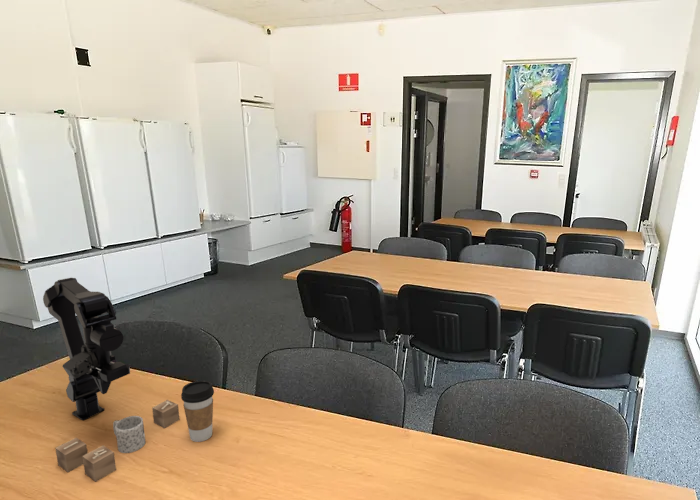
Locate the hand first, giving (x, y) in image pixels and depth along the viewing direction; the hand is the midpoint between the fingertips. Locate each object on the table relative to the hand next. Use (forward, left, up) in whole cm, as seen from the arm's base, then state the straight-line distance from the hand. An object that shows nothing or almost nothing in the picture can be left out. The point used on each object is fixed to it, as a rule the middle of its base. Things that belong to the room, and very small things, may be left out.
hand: (104, 393), depth 123 cm
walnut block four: (+14, -10, -12) cm, 21 cm away
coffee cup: (+23, +13, -12) cm, 29 cm away
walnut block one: (+5, -12, -12) cm, 18 cm away
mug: (+9, 0, -12) cm, 15 cm away
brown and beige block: (+9, +12, -12) cm, 19 cm away
